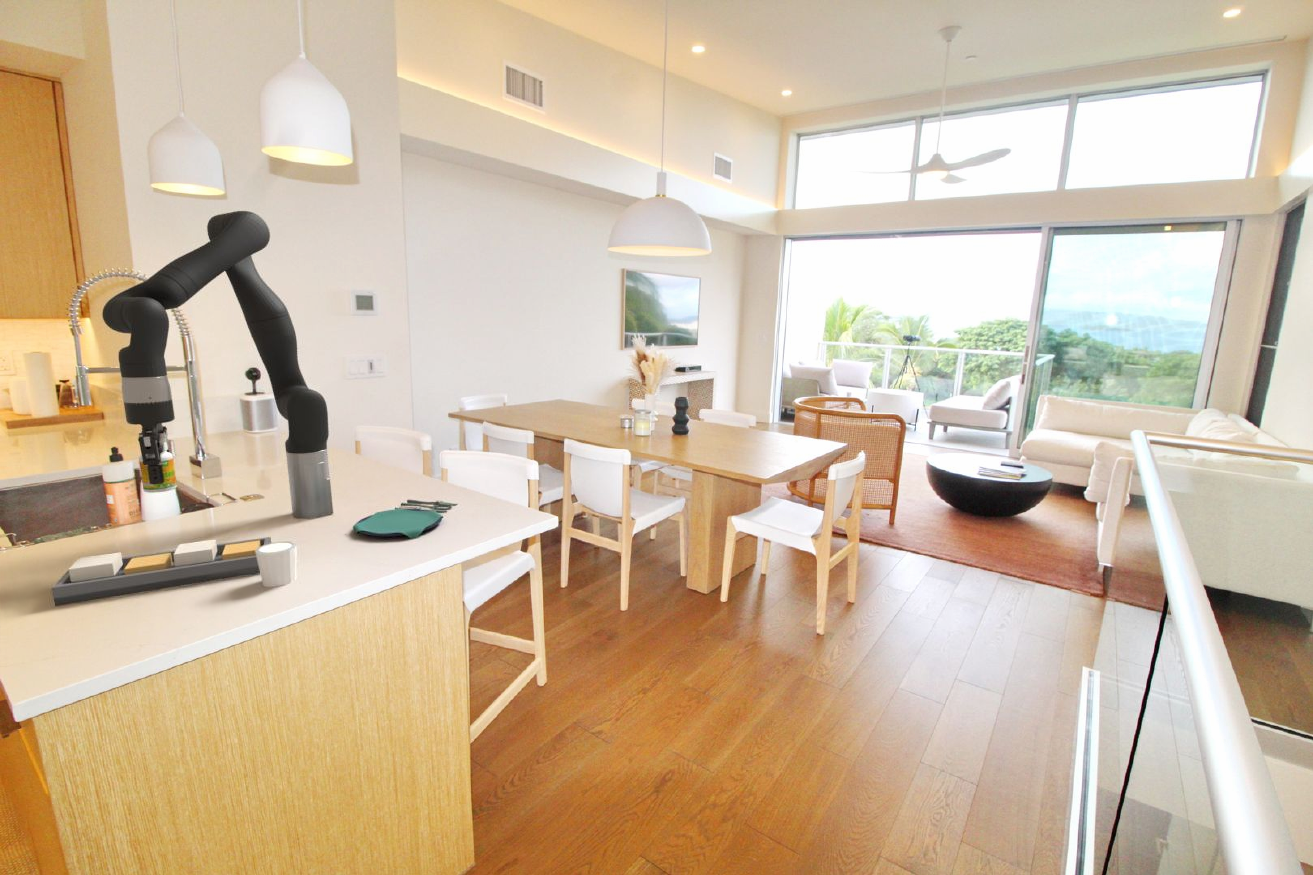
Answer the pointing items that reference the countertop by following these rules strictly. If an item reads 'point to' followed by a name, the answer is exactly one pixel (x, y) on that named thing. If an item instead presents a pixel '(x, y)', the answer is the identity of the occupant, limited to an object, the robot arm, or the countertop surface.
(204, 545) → the key
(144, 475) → the supplement bottle
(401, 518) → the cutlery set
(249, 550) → the key
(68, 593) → the keypad base
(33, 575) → the countertop surface
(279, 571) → the white cup
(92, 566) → the key
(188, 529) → the countertop surface
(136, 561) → the key
